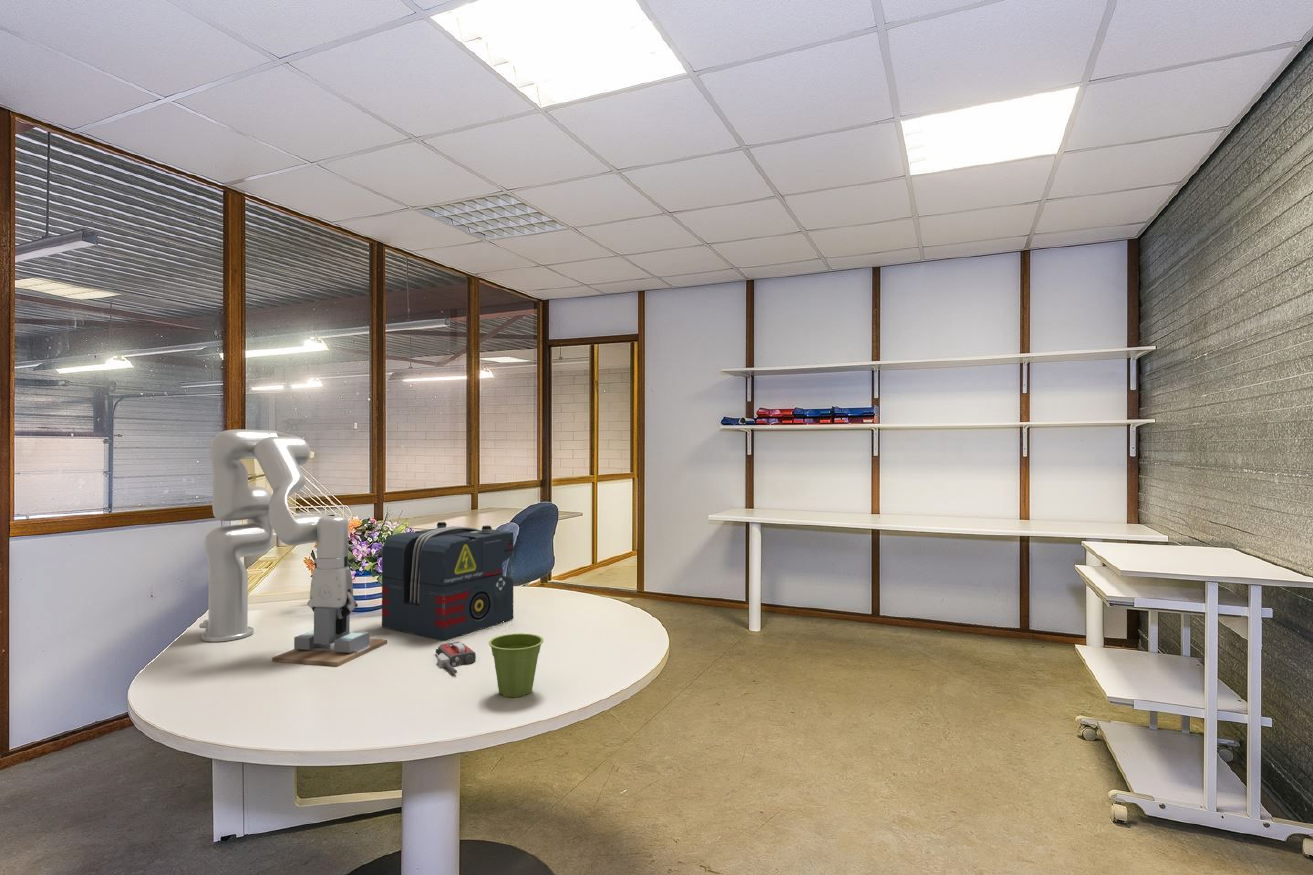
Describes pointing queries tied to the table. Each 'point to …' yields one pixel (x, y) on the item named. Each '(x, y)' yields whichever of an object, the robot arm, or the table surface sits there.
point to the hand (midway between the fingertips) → (332, 631)
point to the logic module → (327, 625)
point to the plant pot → (515, 662)
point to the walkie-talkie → (454, 655)
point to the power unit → (446, 581)
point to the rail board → (329, 649)
